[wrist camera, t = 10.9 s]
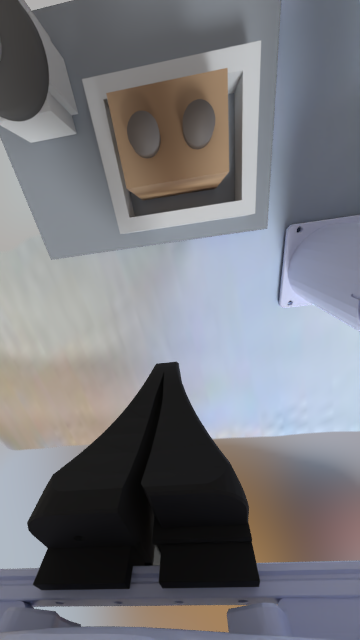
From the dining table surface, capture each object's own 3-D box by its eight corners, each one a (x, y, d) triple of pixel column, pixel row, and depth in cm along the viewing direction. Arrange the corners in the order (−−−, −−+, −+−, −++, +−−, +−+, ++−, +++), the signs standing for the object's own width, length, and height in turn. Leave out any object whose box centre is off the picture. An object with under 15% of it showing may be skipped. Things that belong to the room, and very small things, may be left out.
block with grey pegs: (212, 121, 13) (231, 53, 8) (215, 188, 15) (232, 167, 10) (131, 137, 14) (99, 81, 9) (143, 200, 16) (122, 185, 10)
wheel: (59, 29, 12) (-20, -96, 7) (86, 135, 14) (40, 90, 9) (-15, 47, 12) (-134, -62, 8) (23, 147, 14) (-51, 110, 10)
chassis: (276, -30, 11) (312, -132, 8) (262, 228, 17) (280, 228, 14) (-29, 43, 13) (-99, -18, 10) (57, 258, 19) (31, 264, 16)
